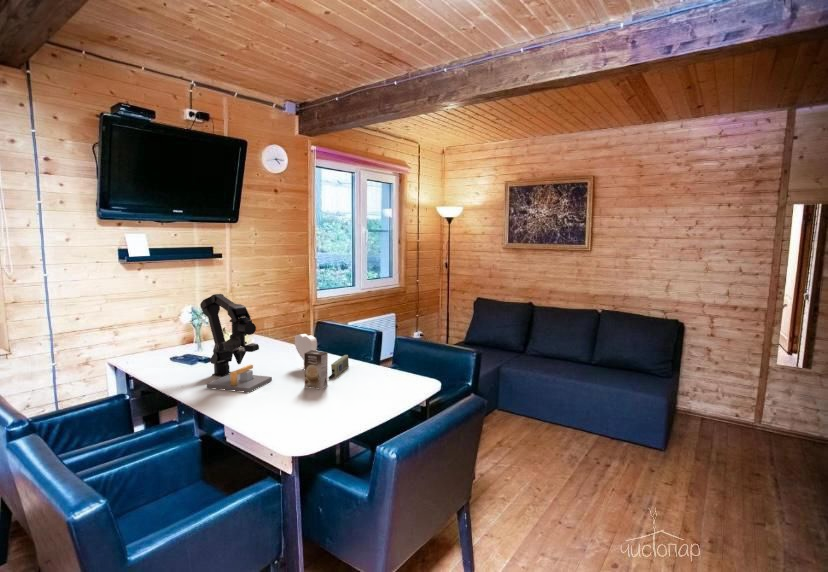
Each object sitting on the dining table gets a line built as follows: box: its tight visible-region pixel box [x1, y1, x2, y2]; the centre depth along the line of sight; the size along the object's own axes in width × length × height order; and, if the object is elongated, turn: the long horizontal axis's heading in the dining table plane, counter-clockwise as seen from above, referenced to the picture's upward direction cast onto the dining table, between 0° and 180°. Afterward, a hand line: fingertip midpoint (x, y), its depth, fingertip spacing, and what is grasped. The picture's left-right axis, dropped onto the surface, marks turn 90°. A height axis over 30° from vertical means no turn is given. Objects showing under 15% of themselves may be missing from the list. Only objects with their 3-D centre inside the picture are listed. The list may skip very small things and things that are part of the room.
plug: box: [240, 369, 254, 381], centre depth 209 cm, size 4×4×6 cm
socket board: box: [206, 373, 273, 393], centre depth 208 cm, size 22×18×2 cm
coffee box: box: [303, 350, 329, 390], centre depth 205 cm, size 9×6×16 cm
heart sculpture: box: [294, 333, 318, 369], centre depth 234 cm, size 16×5×18 cm, turn 47°
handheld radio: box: [327, 354, 350, 380], centre depth 228 cm, size 7×3×25 cm
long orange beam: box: [230, 364, 254, 385], centre depth 206 cm, size 3×14×6 cm, turn 165°
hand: (239, 364), depth 213 cm, fingers closed
